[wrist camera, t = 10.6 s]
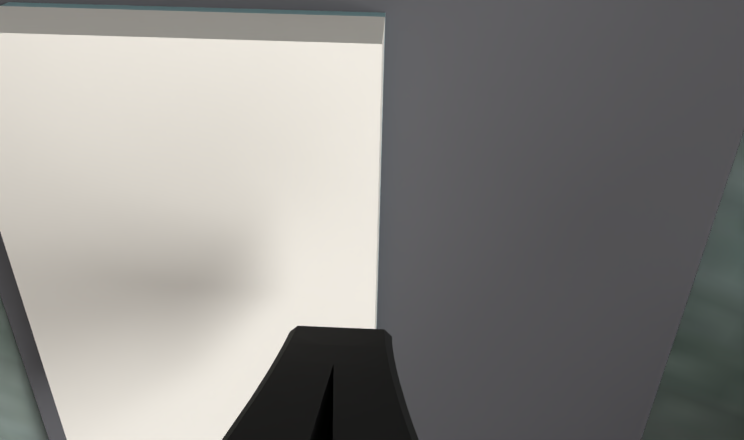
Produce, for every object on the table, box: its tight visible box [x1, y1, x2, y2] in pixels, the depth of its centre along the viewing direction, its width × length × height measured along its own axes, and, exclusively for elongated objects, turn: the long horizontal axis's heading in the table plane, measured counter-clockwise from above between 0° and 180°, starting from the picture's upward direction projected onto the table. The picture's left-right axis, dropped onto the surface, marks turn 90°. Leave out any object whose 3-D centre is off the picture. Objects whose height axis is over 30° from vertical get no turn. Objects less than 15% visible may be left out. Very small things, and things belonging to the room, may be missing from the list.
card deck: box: [0, 2, 385, 440], centre depth 12 cm, size 9×2×6 cm
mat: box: [0, 0, 744, 440], centre depth 13 cm, size 18×15×1 cm
